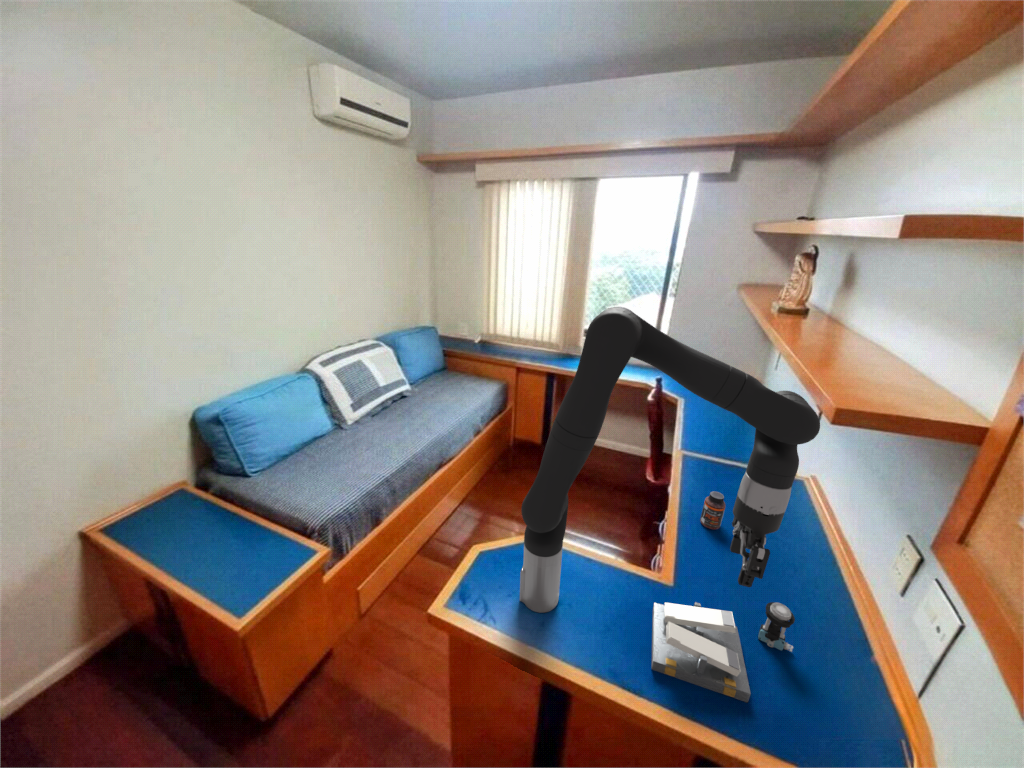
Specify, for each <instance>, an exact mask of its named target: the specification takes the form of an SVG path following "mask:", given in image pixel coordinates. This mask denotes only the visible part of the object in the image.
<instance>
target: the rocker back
mask: <svg viewBox="0 0 1024 768" xmlns="http://www.w3.org/2000/svg"><path fill="white" fill-rule="evenodd" d="M664 605H665V622H667V623H668V622H671V623H674V624H680V625H686V626H692V627H697V626H699V627H703V628H705V629H711V630H718V631H724V632H730V633H735V626H736V623H735V619H734V615H733V611H730V610H723V609H716V608H708V607H702V606H701V607H695V606H694V605H693V606H692V605H687V604H686V605H685V604H679V603H672V602H664Z"/></svg>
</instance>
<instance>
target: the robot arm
mask: <svg viewBox="0 0 1024 768" xmlns="http://www.w3.org/2000/svg"><path fill="white" fill-rule="evenodd" d="M585 334H586V335H585V338H584V341H583V342H584V343H583V347H582V351H581V354H580V358H579V362H578V365H577V369H576V372H575V375H574V377H573V379H572V381H571V384H570V386H569V387H568V389H567V391H566V394H565V395H564V397H563V399H562V401H561V404H560V406H559V408H558V410H557V412H556V415H555V417H554V418H555V419H554V421H553V424H552V426H551V429H550V432H549V435H548V438H547V442H546V443H545V448H544V451H543V455H542V459H541V461H540V466H539V469H538V471H537V475H536V477H535V478H534V481H533V483H532V485H531V487H530V489H529V490H528V492H527V493H526V496H525V497H524V499H523V501H522V503H521V508H520V509H521V510H520V511H521V518H522V520H523V523H524V524H525V530H524V535H523V536H524V537H523V564H522V566H521V567H522V568H521V569H520V573H519V574H520V576H519V602H521V603H523V604H525V606H526V608H528V609H529V610H531V611H532V612H535V613H543V614H544V613H549V612H551V611H553V610H554V609H555V608H556V606H557V605H558V602H559V598H560V597H559V596H560V584H561V573H562V572H561V571H562V560H563V559H562V558H563V544H564V538H565V534H566V529H567V521H568V512H569V495H568V494H569V492H570V489H571V487H572V485H573V484H574V482H575V480H576V478H577V477H578V475H579V474H580V472H581V470H582V469H583V467H584V465H585V463H586V462H587V460H588V458H589V457H590V454H591V452H592V450H593V448H594V446H595V444H596V443H597V439H598V437H599V435H600V432H601V431H602V429H603V425H604V421H605V419H606V415H607V411H608V406H609V403H610V398H611V396H612V393H613V390H614V388H615V387H616V384H617V382H618V381H619V378H620V377H621V374H622V373H623V371H624V370H625V368H626V367H627V364H628V363H629V361H630V360H631V358H633V359H636V360H638V361H641V362H644V363H646V364H647V365H650V366H652V367H654V368H655V369H658V371H660V372H662V373H664V374H665V375H667V376H668V377H670V378H671V379H672V380H674V381H675V382H676V383H678V384H679V385H680V386H682V387H683V388H684V389H686V390H688V391H689V392H691V393H692V394H694V395H696V396H697V397H699V398H701V399H703V400H705V401H707V402H709V403H711V404H713V405H714V406H717V407H719V408H721V409H722V410H725V411H727V412H730V413H732V414H734V415H736V416H737V417H739V418H740V419H741V420H743V421H744V422H745V423H747V424H748V425H750V426H752V427H753V428H755V433H754V442H753V448H752V451H751V454H750V456H749V460H748V462H747V463H748V464H747V466H746V469H745V473H744V475H743V476H742V479H741V482H740V485H739V488H738V491H737V495H736V498H735V501H734V506H733V509H732V514H733V520H732V522H731V526H732V527H733V530H732V535H733V536H732V540H731V543H730V547H729V550H730V552H731V553H734V554H737V555H741V557H742V563H741V568H740V571H739V575H738V577H737V583H738V585H740V586H743V587H747V588H752V586H753V584H754V582H755V581H754V580H755V578H756V579H757V578H758V579H760V580H763V577H764V574H765V571H766V568H767V565H768V561H769V559H770V554H771V552H770V551H771V550H770V549H769V548H765V545H766V543H767V535H769V534H772V533H776V532H777V531H778V530H779V529H780V527H781V525H782V521H783V519H784V516H785V513H786V510H787V508H788V504H789V501H790V499H791V494H792V493H791V492H792V487H793V484H794V481H795V478H796V476H797V473H798V470H799V466H800V457H799V452H798V445H803V444H807V443H809V442H811V441H813V440H814V439H815V438H816V437H817V436H818V435H819V432H820V429H821V421H820V418H819V415H818V414H817V411H815V410H814V408H813V407H812V406H811V405H810V404H809V402H808V401H807V400H806V399H805V398H804V397H803V396H802V395H800V394H798V393H796V392H795V391H792V390H778V391H774V390H772V389H770V388H769V387H767V386H766V385H764V384H763V383H762V382H761V381H760V380H759V379H757V378H755V377H754V376H753V375H750V374H749V373H747V372H746V371H743V370H741V369H738V368H737V367H734V366H732V365H730V364H728V363H725V362H723V361H721V360H719V359H716V358H715V357H712V356H710V355H709V354H706V353H704V352H701V351H699V350H697V349H695V348H693V347H690V346H688V345H686V344H685V343H683V342H680V341H678V340H677V339H675V338H673V337H671V335H670V336H669V335H668V334H667V333H664V332H663V331H661V330H660V329H658V328H657V327H655V326H653V325H652V324H651V323H649V322H648V321H646V320H645V319H644V318H642V317H641V316H639V315H638V314H636V312H633V311H632V310H631V309H629V308H627V307H623V306H612V307H608V308H607V309H605V310H604V309H603V311H601V312H599V314H597V315H596V316H595V317H594V318H593V319H592V321H591V322H590V323H589V326H588V328H587V330H586V333H585ZM747 550H749V552H748V551H747Z"/></svg>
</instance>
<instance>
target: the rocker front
mask: <svg viewBox="0 0 1024 768" xmlns="http://www.w3.org/2000/svg"><path fill="white" fill-rule="evenodd" d="M666 643H668V644H670V645H672V646H674V647H676V648H678V649H680V650H682V651H685V652H687V653H689V654H691V655H693V656H695V657H697V658H700V655H702V656H705V657H707V663H710V664H712V665H714V666H716V667H718V668H720V669H722V670H724V671H726V672H728V673H730V674H733V675H735V676H738V675H739V673H740V672H741V671H740V666H739V661H738V655H737V653H736V652H734V651H732V650H729V649H727V648H725V647H723V646H721V645H719V644H717V643H714V642H712V641H710V640H708V639H706V638H704V637H702V636H699V635H697V634H695V633H693V632H691V631H689V630H686V629H684V628H682V627H680V626H678V625H676V624H674V623H671V622H668V623H667V625H666Z"/></svg>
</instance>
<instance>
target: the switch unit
mask: <svg viewBox="0 0 1024 768" xmlns="http://www.w3.org/2000/svg"><path fill="white" fill-rule="evenodd" d="M693 606H695V607H702V605H701V603H700V602H697V601H695V602H694V604H693ZM651 625H652V626H651V627H652V628H651V631H652V632H651V670H652V671H655V672H658V673H660V674H664V675H666V676H669V677H672V678H676V679H678V680H680V681H684V682H687V683H690V684H693V685H695V686H698V687H702V688H704V689H707V690H709V691H712V692H716V693H719V694H722V695H724V696H727V697H731V698H734V699H736V700H738V701H742V702H744V703H749V701H750V698H751V694H752V693H751V687H750V685H749V684H750V683H749V679H748V674H747V673H748V672H747V668H746V664H745V660H744V655H743V649H742V644H741V639H740V634H739V631H738V626H736V625H735V633H730V632H724V631H718V630H711V629H705V628H703V627H699V626H697V627H692V626H686V625H680V624H676V625H678V626H680V627H682V628H684V629H686V630H689V631H691V632H693V633H695V634H697V635H699V636H702V637H704V638H706V639H708V640H710V641H712V642H714V643H717V644H719V645H721V646H723V647H725V648H727V649H729V650H732V651H734V652H736V653H737V655H738V661H739V666H740V671H741V672H740V673H739V675H738V676H735V675H733V674H730V673H728V672H726V671H724V670H722V669H720V668H718V667H716V666H714V665H712V664H710V663H707V657H705V656H702V655H700V658H697V657H695V656H693V655H691V654H689V653H687V652H685V651H682V650H680V649H678V648H676V647H674V646H672V645H670V644H668V643H666V625H667V622H665V604H662V603H657V602H653V607H652V622H651Z"/></svg>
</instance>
